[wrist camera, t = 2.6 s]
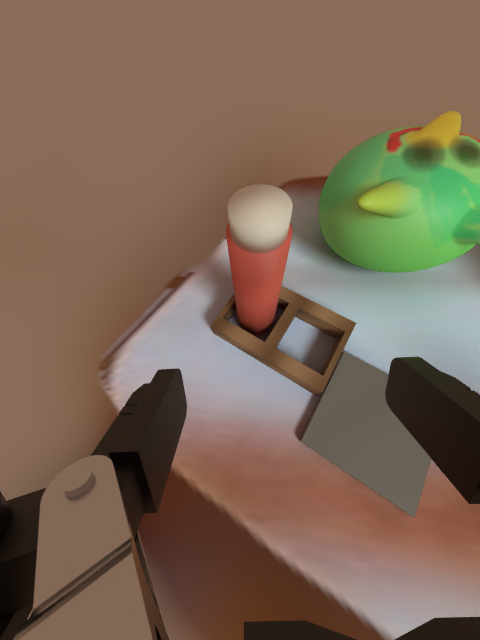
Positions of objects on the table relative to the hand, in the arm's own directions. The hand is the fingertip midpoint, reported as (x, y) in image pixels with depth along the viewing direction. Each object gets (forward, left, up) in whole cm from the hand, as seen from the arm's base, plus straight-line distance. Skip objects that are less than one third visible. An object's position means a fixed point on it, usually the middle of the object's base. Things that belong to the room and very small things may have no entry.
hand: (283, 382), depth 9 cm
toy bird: (-27, +2, -18) cm, 32 cm away
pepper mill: (-9, -6, -18) cm, 21 cm away
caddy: (-9, -3, -18) cm, 20 cm away
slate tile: (-5, +10, -18) cm, 21 cm away
